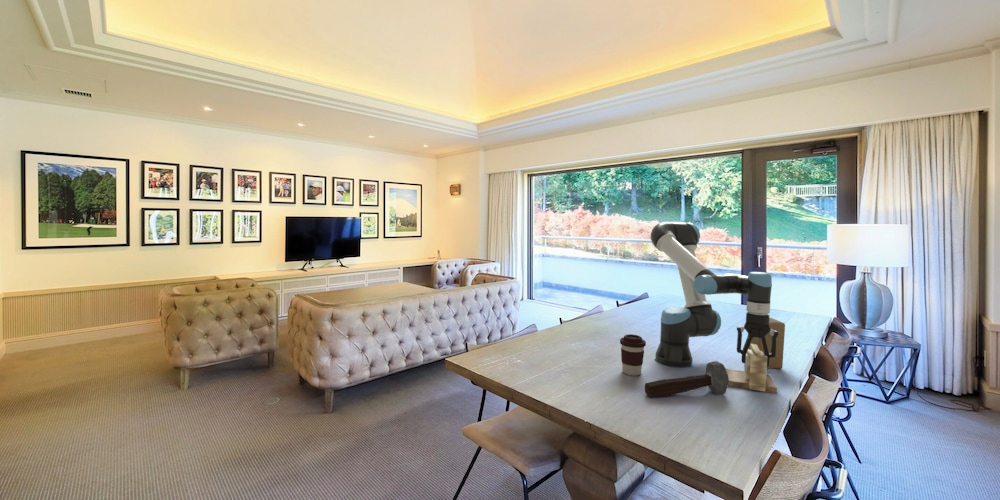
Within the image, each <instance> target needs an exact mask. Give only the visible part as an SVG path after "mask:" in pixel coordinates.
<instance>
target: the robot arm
mask: <svg viewBox="0 0 1000 500" xmlns="http://www.w3.org/2000/svg"><path fill="white" fill-rule="evenodd" d="M700 239H701V232H700V230H699V227H698V226H697V225H695V224H694V223H692V222H688V221H679V222H678V221H663V222H660V223H657V224H656V225H654V226H653V227H652V229H651V232H650V240H651V243H652V245H653V246H654V247H655V249H657V250H658V251H659V252H662V253H664V254H665V255H666V256H668V258H669V259H671V261H672V262H673V263H675V265H677V269H678V274H679V279H680V282H681V287H682V291H683V296H684V300H685V305H684V307H682V306H681V307H680V306H678V307H675V306H674V307H672V306H671V307H668V308H665V309H663V310H662V312H661V317H660V337H659V344H658V346H657V349H656V351H655V361H657V362H658V363H660V364H662V365H666V366H670V367H680V368H684V367H685V368H686V367H690V366H692V365H693V356H692V352H691V348H690V345H689V344H690V338H697V337H708V336H709V337H710V336H713V335H715V334H717V333H718V332H719V330H720V329H721V326H722V319H721V318H722V317H721V314H720V313H719V312H718V311H717V310H715V309H713V307H712V303H710V302H708V301H707V298H706V295H710V296H711V295H721V294H723V295H724V294H725V295H727V294H739V295H744V296H747V297H746V309H745V311H746V313H745V323H744V325H742V326H736V331H737V336H736V337H737V339H736V352H737V353H738V354H741V362H742V363H741V364H744V368H743V369H744V370H743V371H745V372H746V373H747V368H748V355H747V351H748V348H749V345H750V343H751V340H752V338H753V337H758V338H761V341H762V345H763V349H764V353H765V356H767V366H769V359H770V358H771V357H775V356H776V338H777V336H778V332H777V331H776V330H772V329H770V327H769V319H770V318H771V317H770V313H771V298H772V297H771V296H772V286H773V282H772V281H773V279H772V275H771V273H769V272H763V271H749V272H748V275H743V274H737V273H728V272H727V273H724V274H715V273H714V272H713V271H711V269H709V268H708V267H707V266H706V265H705V264H704V263H703V262H702V261H700V260H699V259H698V258H697V256H696V252H695V251H696V249H697V248H698V244H699V242H700ZM744 330H745V331H746V332H747V337H746V340H745V341H744V345H743V348H742V340H743V333H744ZM769 332H770V334H771V353H769V352H768V348H767V344H766V339H765V335H767V334H768V333H769Z"/></svg>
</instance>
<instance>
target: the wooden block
mask: <svg viewBox="0 0 1000 500" xmlns="http://www.w3.org/2000/svg"><path fill="white" fill-rule="evenodd" d="M769 327H770V329H772V330H776V331H777V332H778V336H777V338H776V356H775V357H771V358H770V359H769V366H767V369H772V368H773V369H777V370H780V369H783V365H784V362H783V361H784V351H785V350H784V348H785V347H784V346H785V331H786V323H784V322H782V321H780V320H777V319H775V318H773V317H770V319H769ZM765 339H766V344H767V348H768V352H769V353H771V334H770V332H769V333H768V334H767V335H765ZM751 344H757V346H758V348H759V350H760V351H762V352H763V354H764V355H765V353H764V349H763V345H762V341H761V338H758V337H753V338H752V340H751V343H750V345H751ZM750 345H749V348H748V349H750V350H751V348H750Z"/></svg>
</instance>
